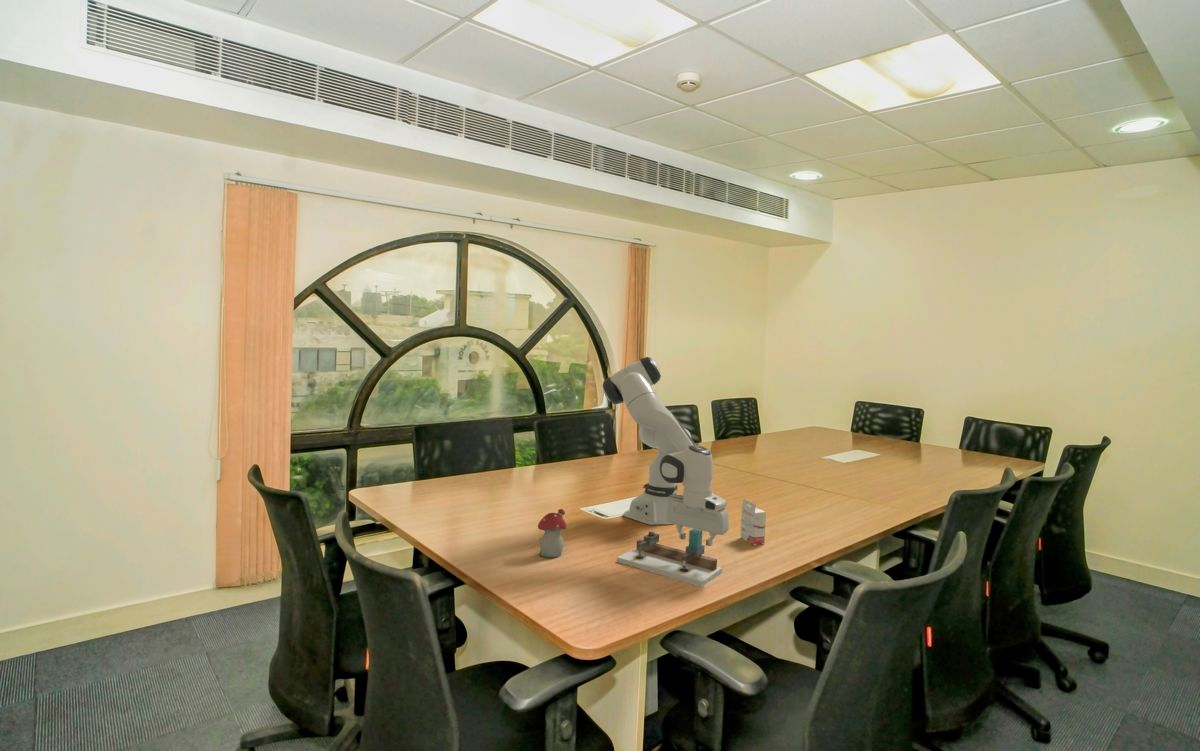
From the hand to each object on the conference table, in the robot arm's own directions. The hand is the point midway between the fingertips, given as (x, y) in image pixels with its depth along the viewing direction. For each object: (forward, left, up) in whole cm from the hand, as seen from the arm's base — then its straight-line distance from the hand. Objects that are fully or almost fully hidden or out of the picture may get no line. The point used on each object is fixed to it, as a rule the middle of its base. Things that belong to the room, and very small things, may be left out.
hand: (695, 542), depth 186 cm
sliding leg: (0, -3, -6) cm, 6 cm away
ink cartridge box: (+4, +38, -9) cm, 39 cm away
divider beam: (-7, -3, -7) cm, 10 cm away
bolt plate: (-7, -4, -9) cm, 12 cm away
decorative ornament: (-42, -20, -9) cm, 47 cm away
